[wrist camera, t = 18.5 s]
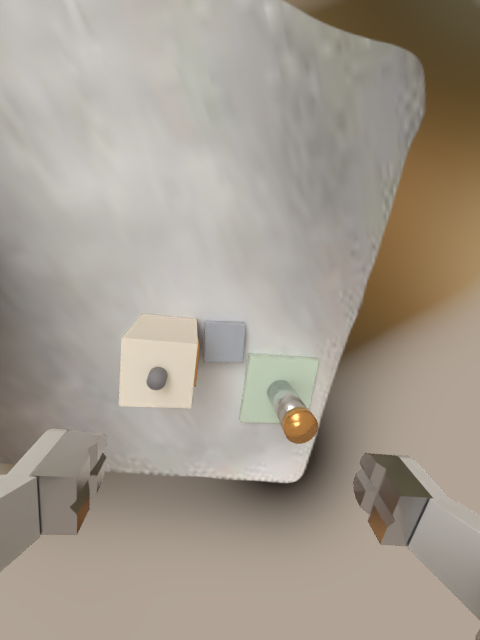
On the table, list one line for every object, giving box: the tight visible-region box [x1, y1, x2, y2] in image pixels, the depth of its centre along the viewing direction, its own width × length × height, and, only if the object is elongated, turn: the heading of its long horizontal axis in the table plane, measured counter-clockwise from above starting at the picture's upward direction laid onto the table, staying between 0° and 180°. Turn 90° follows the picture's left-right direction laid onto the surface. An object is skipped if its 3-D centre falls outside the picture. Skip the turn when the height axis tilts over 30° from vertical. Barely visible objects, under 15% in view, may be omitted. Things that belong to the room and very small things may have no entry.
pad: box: [239, 353, 319, 423], centre depth 46 cm, size 12×12×1 cm
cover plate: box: [204, 321, 245, 362], centre depth 42 cm, size 6×6×2 cm
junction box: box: [119, 314, 200, 408], centre depth 35 cm, size 8×8×14 cm
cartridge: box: [267, 380, 318, 444], centre depth 41 cm, size 5×5×10 cm
